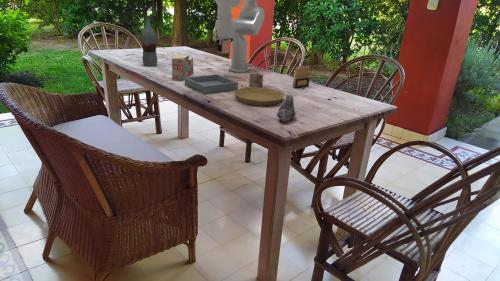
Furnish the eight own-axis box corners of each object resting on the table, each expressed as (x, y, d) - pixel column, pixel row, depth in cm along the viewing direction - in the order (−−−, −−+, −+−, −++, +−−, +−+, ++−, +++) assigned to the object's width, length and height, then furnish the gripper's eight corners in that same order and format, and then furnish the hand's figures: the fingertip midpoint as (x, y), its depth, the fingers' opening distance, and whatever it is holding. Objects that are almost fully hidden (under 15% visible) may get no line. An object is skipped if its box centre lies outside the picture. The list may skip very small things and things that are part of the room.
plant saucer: (255, 90, 194) (255, 84, 193) (293, 100, 180) (294, 94, 179) (223, 99, 176) (223, 92, 175) (263, 111, 163) (264, 103, 161)
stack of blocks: (183, 72, 224) (182, 51, 219) (193, 73, 223) (193, 52, 218) (172, 80, 204) (171, 57, 199) (183, 81, 203) (182, 58, 199)
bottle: (140, 64, 236) (137, 15, 224) (153, 63, 242) (150, 15, 230) (147, 67, 230) (144, 16, 218) (160, 66, 235) (158, 16, 224)
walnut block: (256, 85, 203) (257, 72, 200) (262, 87, 199) (263, 74, 196) (249, 86, 200) (249, 73, 197) (255, 88, 196) (255, 75, 193)
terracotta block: (225, 51, 214) (225, 38, 211) (230, 53, 210) (230, 40, 207) (217, 52, 211) (217, 39, 208) (222, 53, 208) (222, 40, 205)
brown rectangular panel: (294, 88, 201) (297, 66, 196) (292, 87, 202) (294, 65, 198) (308, 86, 207) (311, 65, 202) (306, 85, 208) (308, 64, 204)
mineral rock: (282, 125, 147) (284, 100, 143) (263, 117, 154) (265, 94, 150) (303, 119, 155) (306, 96, 151) (284, 112, 162) (287, 90, 158)
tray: (216, 81, 207) (216, 74, 205) (237, 89, 192) (238, 82, 191) (184, 85, 195) (184, 77, 194) (204, 94, 181) (204, 86, 179)
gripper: (233, 16, 211) (232, 48, 218) (207, 17, 201) (207, 51, 208) (240, 17, 205) (239, 51, 213) (214, 18, 195) (214, 53, 203)
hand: (223, 50), depth 210 cm, fingers closed on terracotta block, 5 cm apart
